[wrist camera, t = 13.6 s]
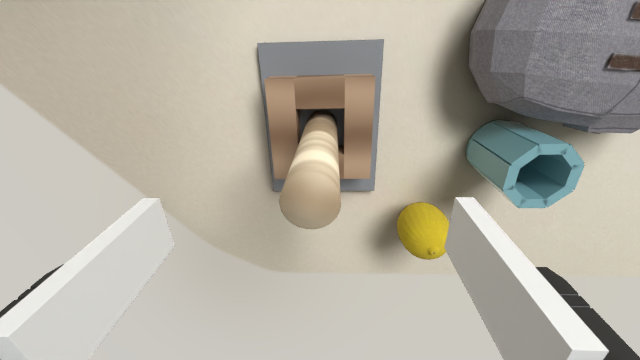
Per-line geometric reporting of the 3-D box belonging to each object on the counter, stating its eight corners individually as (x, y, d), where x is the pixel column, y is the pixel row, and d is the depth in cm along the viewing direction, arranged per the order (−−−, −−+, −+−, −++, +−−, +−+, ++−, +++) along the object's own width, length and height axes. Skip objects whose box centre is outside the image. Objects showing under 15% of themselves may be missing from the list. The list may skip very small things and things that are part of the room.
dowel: (306, 110, 29) (276, 175, 14) (336, 109, 29) (340, 175, 14) (307, 139, 31) (282, 229, 15) (336, 139, 31) (340, 229, 15)
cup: (472, 120, 30) (515, 144, 23) (530, 119, 30) (593, 143, 22) (461, 171, 33) (497, 208, 25) (514, 171, 32) (567, 207, 25)
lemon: (391, 192, 34) (407, 231, 27) (438, 189, 34) (467, 228, 26) (391, 229, 36) (405, 275, 29) (435, 227, 36) (460, 273, 29)
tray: (259, 43, 28) (257, 43, 27) (382, 39, 27) (383, 39, 26) (274, 187, 35) (273, 190, 34) (373, 187, 34) (374, 190, 33)
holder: (270, 76, 28) (264, 79, 25) (371, 73, 28) (375, 76, 25) (279, 168, 32) (274, 179, 30) (366, 167, 32) (369, 178, 29)
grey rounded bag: (726, -52, 23) (484, -70, 23) (914, -98, 16) (555, -124, 16) (627, 127, 30) (438, 112, 30) (726, 155, 22) (473, 134, 22)
